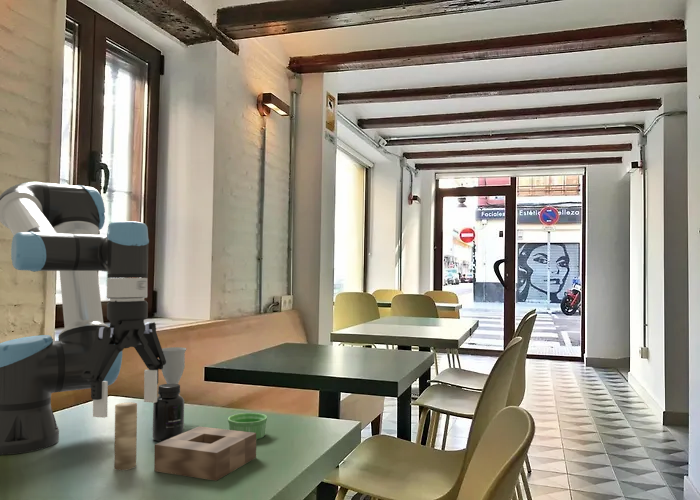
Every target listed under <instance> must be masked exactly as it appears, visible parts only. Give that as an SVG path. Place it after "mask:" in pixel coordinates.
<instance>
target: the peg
mask: <svg viewBox="0 0 700 500" xmlns="http://www.w3.org/2000/svg"><path fill="white" fill-rule="evenodd" d="M137 426H138V403H136V402H120V403H117V404H115V405H114V457H113V458H114V459H113V463H114V464H113V466H114V467H113V468H114V469H115V470H116V471H127V470H132V469H135V468H136V467H137V437H138V436H137V434H138V432H137V431H138V429H137Z"/></svg>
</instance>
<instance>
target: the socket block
mask: <svg viewBox="0 0 700 500" xmlns="http://www.w3.org/2000/svg"><path fill="white" fill-rule="evenodd" d="M153 457H154V462H153V463H154V472H156V473H157V472H158V473H163V474H170V475H171V474H172V475H176V476H177V475H178V476H184V477H190V478H197V479H204V480H211V481H216V482H217V481H218V480H220V479H222V478H223V477H225V476H227V475H229V474H231V473H233V472H234V471H236V470H237V469H239V468H241V467H243V466H244V465H246V464H247V463H250V462H251V461H253V460H255V459H256V458H257V440H256V433H252V432H243V431H235V430H229V429H226V428H217V427H206V426H196V427H194V428H192V429H189V430H187V431H184V433H182V434H179V435H177V436H174V437H172V438H170V439H167V440H165V441H162V442H161V441H159V442H158V443H155V444H154V455H153Z"/></svg>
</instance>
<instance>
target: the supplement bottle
mask: <svg viewBox="0 0 700 500" xmlns="http://www.w3.org/2000/svg"><path fill="white" fill-rule="evenodd" d="M180 394H181V384H180V383H178V384H167V383H163V384H159V385H157V395H158V396H157V402H155V403H153V405H152V439H153V440H154V441H156V442H162V441H165V440H167V439H170V438H172V437H174V436H177V435H179V434H182V433H184V432H185V428H184V426H185V399H184V398H183V396H182V395H180Z"/></svg>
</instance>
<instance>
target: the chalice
mask: <svg viewBox="0 0 700 500" xmlns="http://www.w3.org/2000/svg"><path fill="white" fill-rule="evenodd" d="M161 348H162V347H161ZM162 351H163V353H164V356H165V359H166V364H165V365H163V369H160V370H161V373H162V375H163V378H164V381H165V382H166V383H165V384H180V383H179V382H180V380H181V378H182V376H183V373H184V370H185V359H186V358H185V355H186V354H185V353H186V352H187V348H186V347H181V346H180V347H178V346H177V347H176V346H175V347H163V348H162Z"/></svg>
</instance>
